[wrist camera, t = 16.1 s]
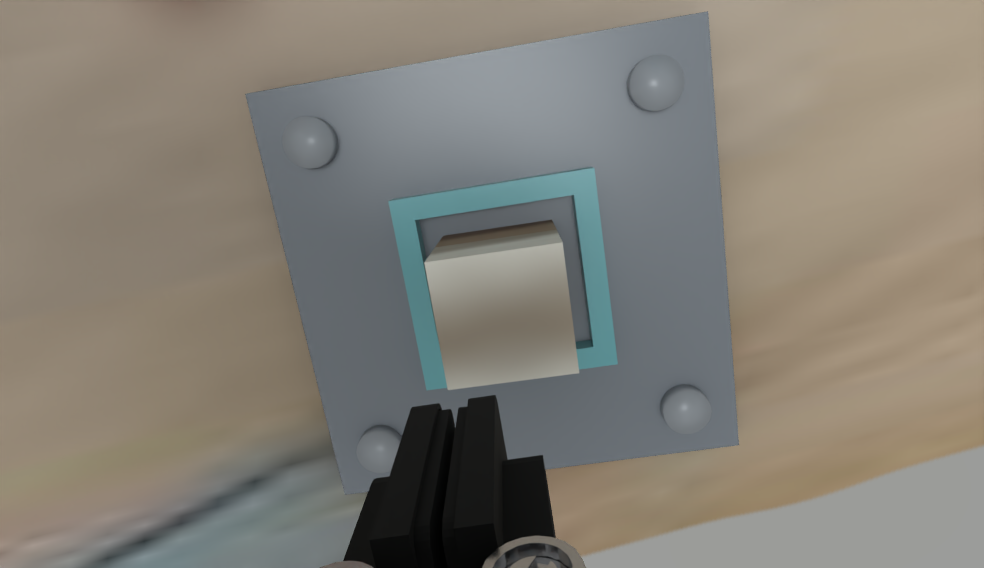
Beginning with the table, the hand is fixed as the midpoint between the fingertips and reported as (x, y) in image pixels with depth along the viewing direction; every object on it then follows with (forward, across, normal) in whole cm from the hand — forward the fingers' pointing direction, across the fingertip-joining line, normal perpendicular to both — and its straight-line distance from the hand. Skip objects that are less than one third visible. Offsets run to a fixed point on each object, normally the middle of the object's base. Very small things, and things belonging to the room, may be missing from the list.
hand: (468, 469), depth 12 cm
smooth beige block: (+16, -1, 0) cm, 16 cm away
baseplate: (+17, -1, 0) cm, 17 cm away
